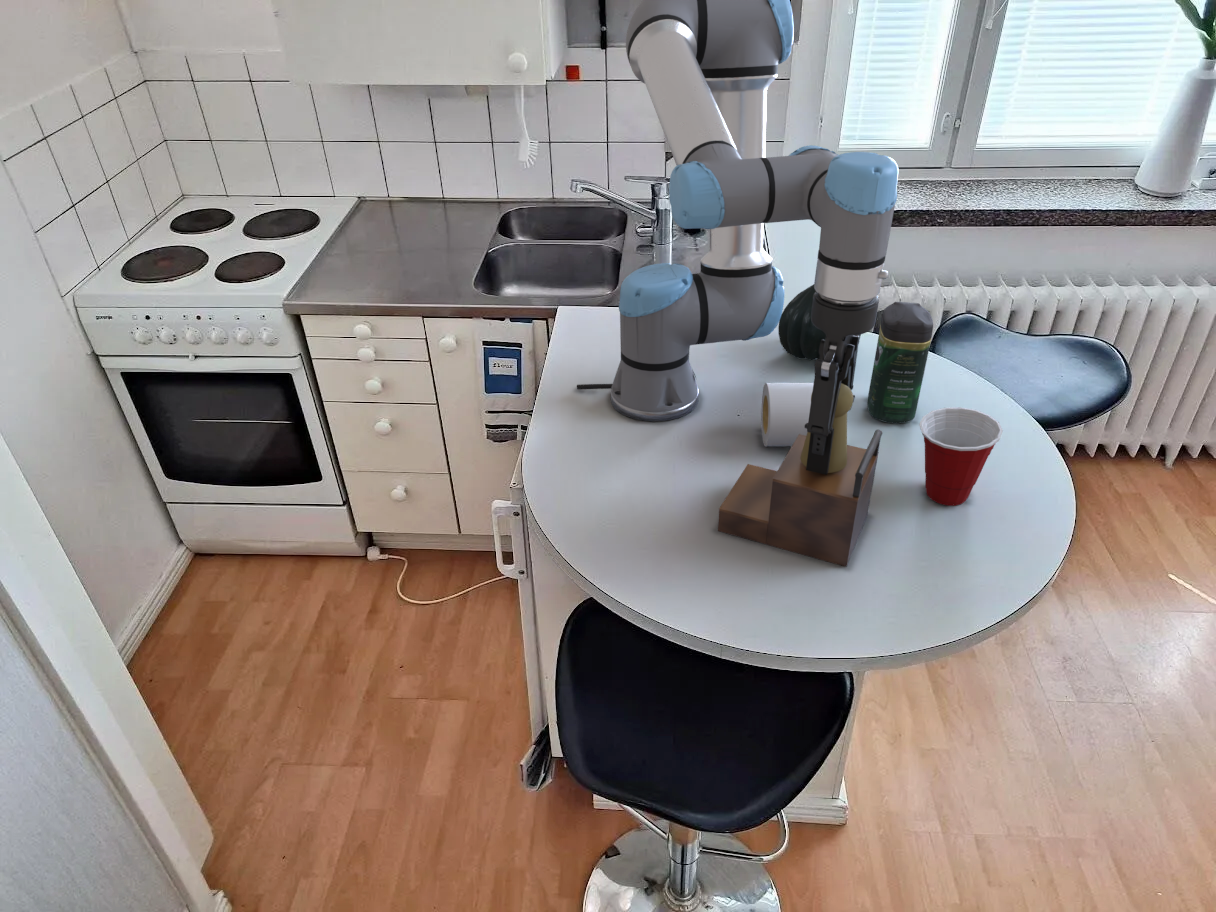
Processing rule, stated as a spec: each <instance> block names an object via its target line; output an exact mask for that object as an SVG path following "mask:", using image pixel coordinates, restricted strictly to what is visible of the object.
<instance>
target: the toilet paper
mask: <svg viewBox="0 0 1216 912" xmlns="http://www.w3.org/2000/svg"><path fill="white" fill-rule="evenodd" d="M813 385H814V382H765V383H764V385H763V387H762V394H761V404H760V425H761V428H760V429H761V437H762V443H763V445H764V447H792V445H793V443H794V442H795V440H796V438H797V437H798V435H799V434H801V435H806V436H807V429H806V428H805V424H806V423H808V421H809V413H810V406H811V395H812V392H813Z"/></svg>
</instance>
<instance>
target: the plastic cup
mask: <svg viewBox="0 0 1216 912" xmlns="http://www.w3.org/2000/svg"><path fill="white" fill-rule="evenodd" d="M918 426H919V429H920V431H921V434H922V436H923V443H924V473H925V483H924V484H925V485H924V488H925V492H926V496H927V497H928V498H929V499H930V500H931V501H933V502H934V503H937V504H938V505H943V506H951V507H954V506H959V505H960V506H961V505H962V504H964V503H965V502H967V500H968V499H969V497H970V495H971V493H972V491H973V488H974V487H975V485H976V483H977V481H978V479H979V477H980V475H981V473H982V470H983V468H984V466H985V464H986V463H987V460H988V458H989V456H990V455H991V453H992V450H993V449H994V447H995V446H996V444H997V443H998V442H1000V440H1001V438H1002V435H1003V431H1004V430H1003V428H1002V425H1001V423H1000V422H999V421H998V420H997V419H996V418H994V417H993V416H992V415H990V414H988V413H985V412H983V411H980V410H977V409H972V408H968V407H961V406H959V407H957V406H955V407H942V408H938V409H933V410H931V411H929V412H928V413H926V414H925V415H923V416H922V417H921V419H920V421H919V425H918Z"/></svg>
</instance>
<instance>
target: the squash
mask: <svg viewBox="0 0 1216 912" xmlns="http://www.w3.org/2000/svg"><path fill="white" fill-rule="evenodd" d="M815 292H816V290H815V289H814V283H813V284H811V285H810V286H808V287H807V288H805V289H804V290H802V291H800V292H799V293H798V294H796V295H795V296H794V297H793V298H792V299H791V300H790V301H789V302H788V303H787V305H786V306H785V307H784V308H783V311H782V315H781V318H780V321H779V323H778V328H777V329H778V337H779V342H780V345H781V346H782V348H783V350H784V351H785V352H786V353H787V354H789V355H790V356H792V357H794V358H796V359H800V360H803V359H804V360H805V359H806V360H809V361H816V360H817V359H820V354H819V347H820V343H821V340H825V336H826V334H825V333H824V332H823V331H822V330H820V329H818V328H817V327H815V326H814V325H813V323H812V321H811V311H812V303H813V295H814V293H815ZM860 337H862V334H860Z"/></svg>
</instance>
